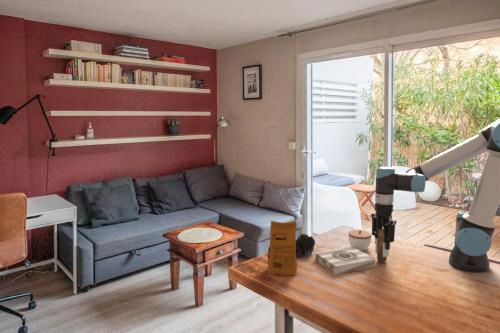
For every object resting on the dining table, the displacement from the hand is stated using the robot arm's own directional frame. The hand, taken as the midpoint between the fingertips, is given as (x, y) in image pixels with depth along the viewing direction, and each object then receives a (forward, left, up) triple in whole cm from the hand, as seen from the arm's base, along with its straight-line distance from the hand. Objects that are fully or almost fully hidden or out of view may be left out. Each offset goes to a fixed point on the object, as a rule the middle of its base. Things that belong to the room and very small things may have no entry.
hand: (381, 254), depth 165 cm
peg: (0, 0, -4) cm, 4 cm away
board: (+5, +16, -4) cm, 17 cm away
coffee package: (+8, +45, -4) cm, 46 cm away
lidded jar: (+17, -1, -4) cm, 17 cm away
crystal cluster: (+23, +28, -4) cm, 37 cm away
